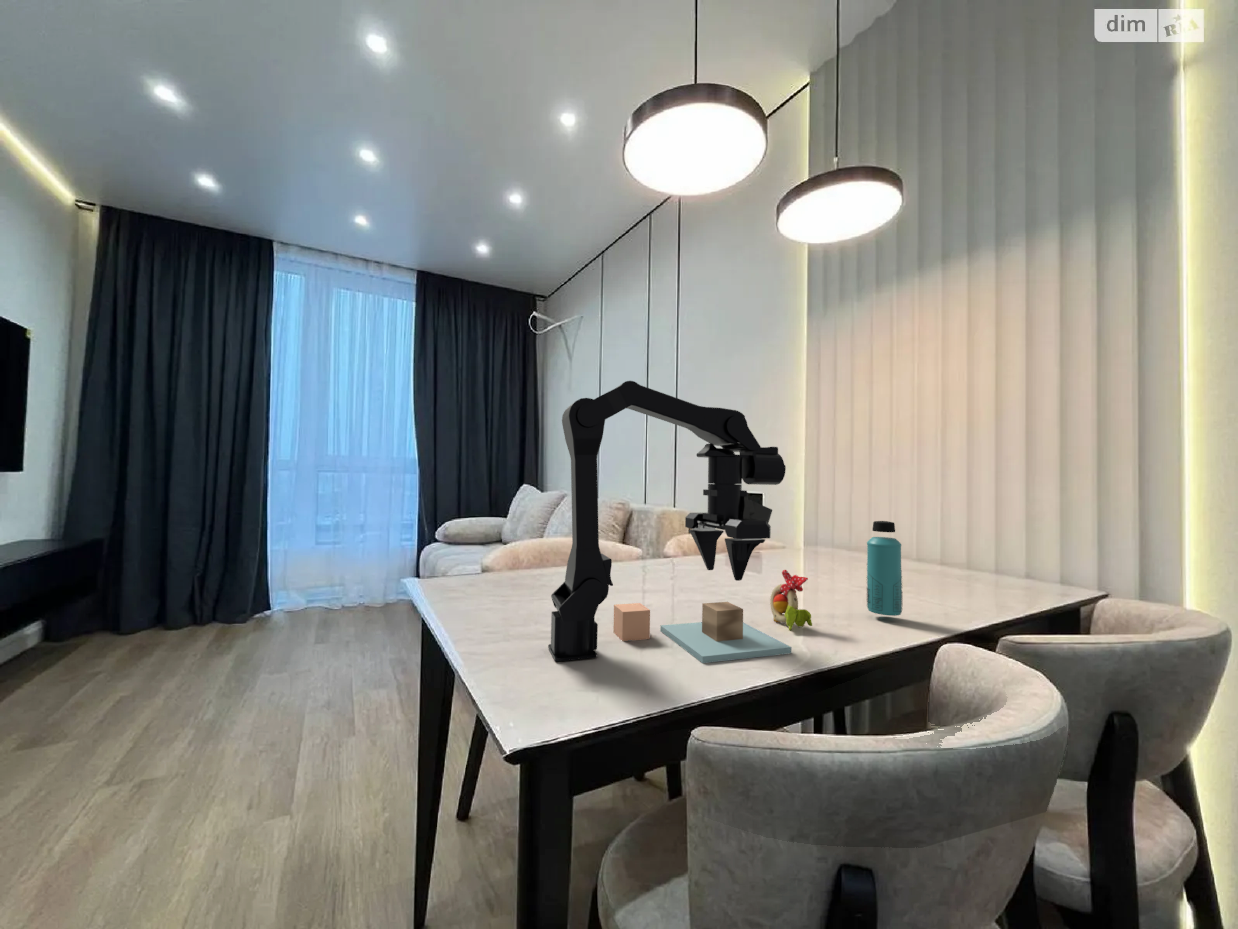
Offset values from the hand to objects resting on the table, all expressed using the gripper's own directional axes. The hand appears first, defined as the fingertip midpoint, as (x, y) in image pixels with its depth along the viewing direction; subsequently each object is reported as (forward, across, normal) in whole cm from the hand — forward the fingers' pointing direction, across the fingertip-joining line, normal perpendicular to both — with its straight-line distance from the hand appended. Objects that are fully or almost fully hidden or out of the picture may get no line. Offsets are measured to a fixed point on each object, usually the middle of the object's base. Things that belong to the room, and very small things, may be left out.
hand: (723, 574), depth 83 cm
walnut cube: (+10, 0, 0) cm, 10 cm away
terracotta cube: (+11, +7, +14) cm, 20 cm away
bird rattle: (+12, +5, -17) cm, 21 cm away
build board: (+11, 0, 0) cm, 11 cm away
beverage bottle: (+12, +4, -40) cm, 42 cm away
